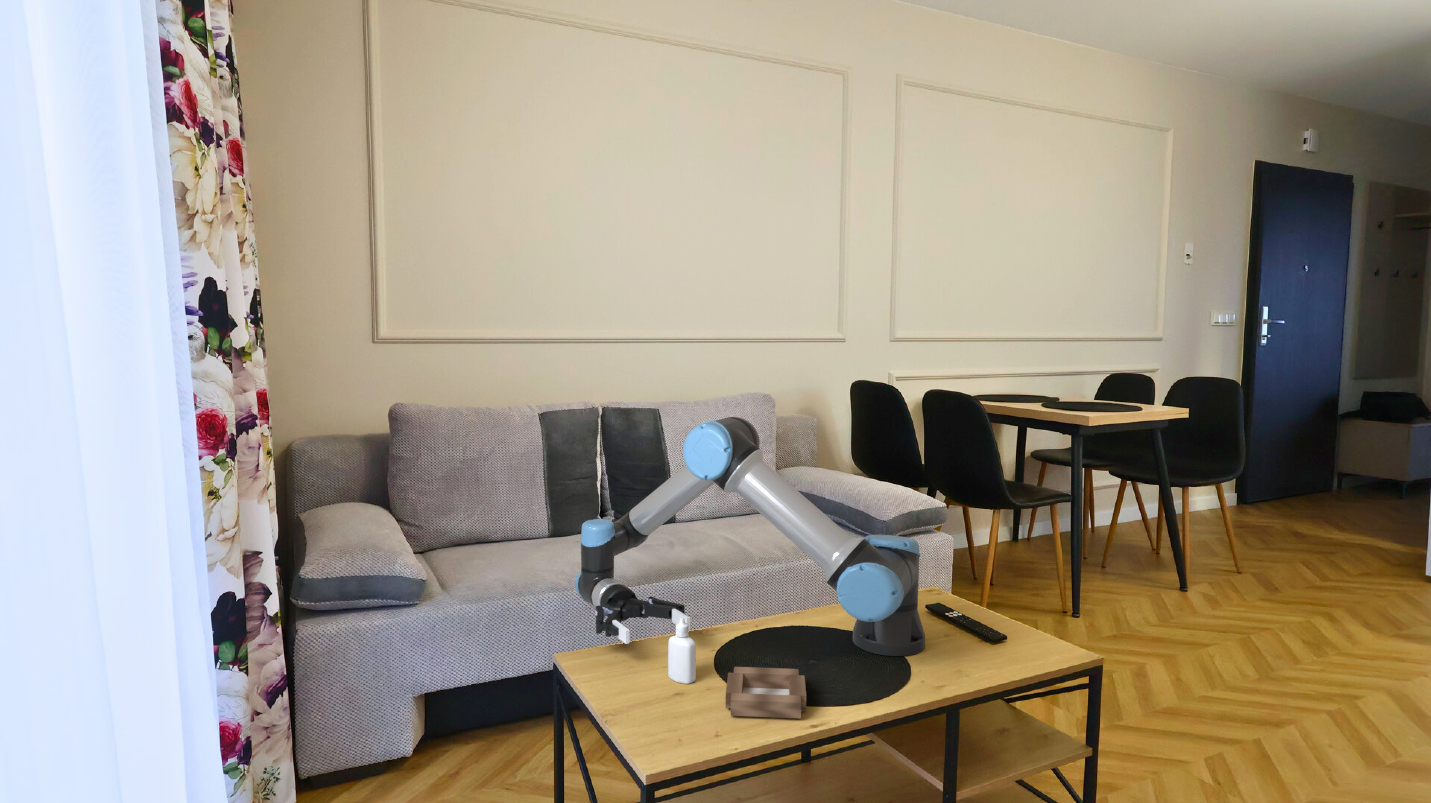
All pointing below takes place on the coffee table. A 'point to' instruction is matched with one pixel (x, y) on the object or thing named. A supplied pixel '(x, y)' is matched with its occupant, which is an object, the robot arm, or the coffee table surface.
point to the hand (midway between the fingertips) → (658, 630)
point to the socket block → (766, 692)
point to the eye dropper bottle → (682, 655)
